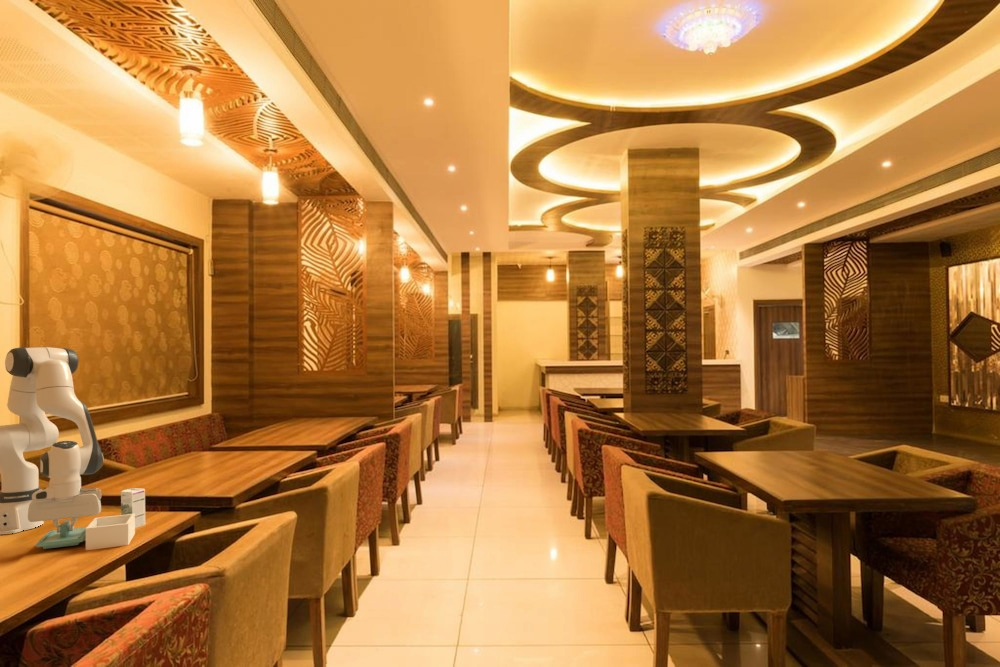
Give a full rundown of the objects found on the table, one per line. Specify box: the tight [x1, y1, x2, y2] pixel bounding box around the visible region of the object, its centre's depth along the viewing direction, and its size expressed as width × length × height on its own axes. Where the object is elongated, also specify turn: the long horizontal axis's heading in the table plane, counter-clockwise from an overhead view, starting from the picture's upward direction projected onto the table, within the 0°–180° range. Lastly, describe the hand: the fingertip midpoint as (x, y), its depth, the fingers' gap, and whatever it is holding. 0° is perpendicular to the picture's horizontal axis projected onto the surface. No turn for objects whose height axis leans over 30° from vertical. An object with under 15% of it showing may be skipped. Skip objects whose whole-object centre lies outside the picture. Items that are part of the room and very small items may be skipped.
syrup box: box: [120, 487, 147, 529], centre depth 227 cm, size 6×6×14 cm
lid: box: [35, 519, 87, 550], centre depth 207 cm, size 13×15×6 cm
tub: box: [85, 514, 136, 551], centre depth 208 cm, size 12×14×8 cm
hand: (65, 531), depth 207 cm, fingers closed on lid
